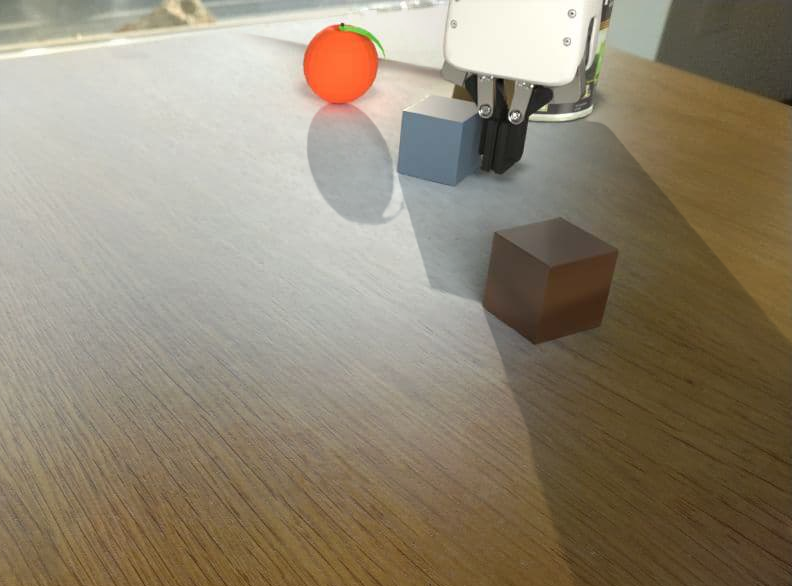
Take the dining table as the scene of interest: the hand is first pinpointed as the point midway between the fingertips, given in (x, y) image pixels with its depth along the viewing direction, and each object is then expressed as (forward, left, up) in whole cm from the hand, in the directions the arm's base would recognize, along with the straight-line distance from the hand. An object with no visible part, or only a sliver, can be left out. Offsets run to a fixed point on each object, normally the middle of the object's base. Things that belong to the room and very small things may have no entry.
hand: (498, 166), depth 75 cm
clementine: (+20, -10, -2) cm, 22 cm away
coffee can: (+5, -20, -2) cm, 21 cm away
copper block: (-10, +18, -1) cm, 21 cm away
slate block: (+5, 0, -1) cm, 5 cm away
